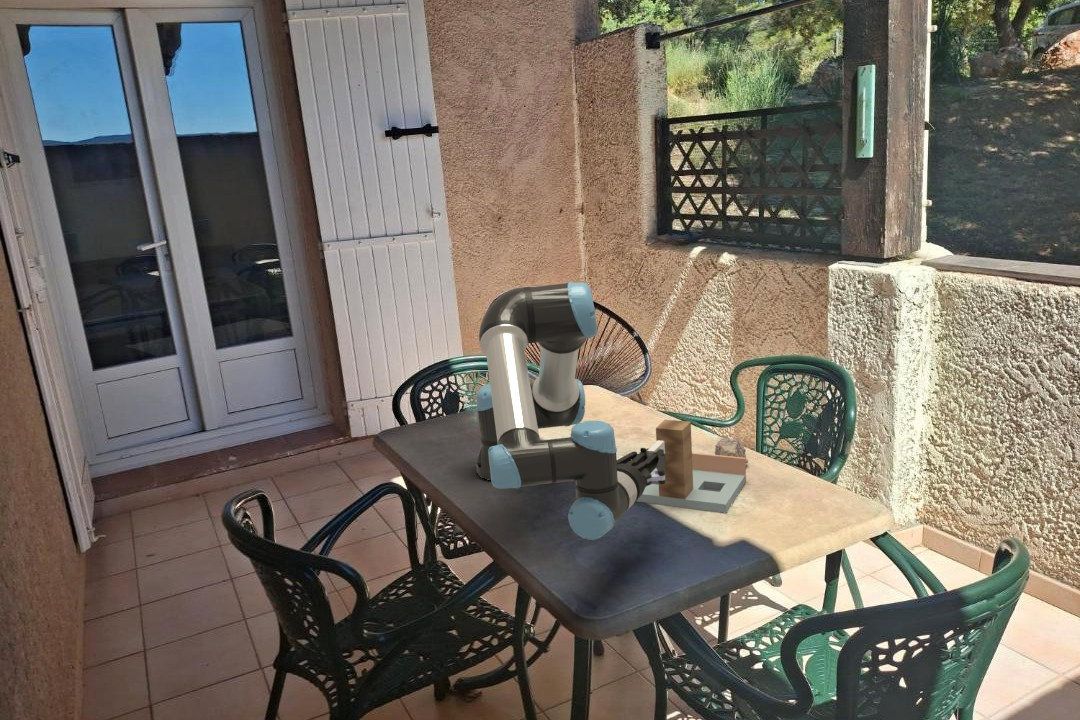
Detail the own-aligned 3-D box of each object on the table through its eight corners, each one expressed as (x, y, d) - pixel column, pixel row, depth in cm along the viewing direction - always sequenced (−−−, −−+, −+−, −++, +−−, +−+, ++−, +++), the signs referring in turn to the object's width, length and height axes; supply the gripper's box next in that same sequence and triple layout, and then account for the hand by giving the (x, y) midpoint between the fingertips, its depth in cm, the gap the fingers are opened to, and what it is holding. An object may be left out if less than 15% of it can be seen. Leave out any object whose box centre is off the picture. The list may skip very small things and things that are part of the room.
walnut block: (659, 496, 182) (655, 428, 178) (667, 485, 187) (664, 419, 183) (685, 499, 179) (682, 430, 175) (693, 488, 184) (690, 421, 180)
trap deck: (622, 499, 186) (620, 475, 185) (648, 471, 202) (647, 448, 200) (726, 513, 175) (725, 487, 174) (746, 481, 190) (745, 457, 189)
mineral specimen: (755, 474, 195) (754, 449, 193) (725, 477, 194) (725, 452, 193) (738, 455, 207) (737, 432, 206) (710, 458, 207) (710, 435, 205)
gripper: (588, 503, 156) (633, 460, 176) (653, 511, 150) (692, 466, 170) (586, 466, 154) (631, 427, 174) (651, 473, 148) (690, 432, 168)
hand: (661, 446), depth 172 cm, fingers closed
